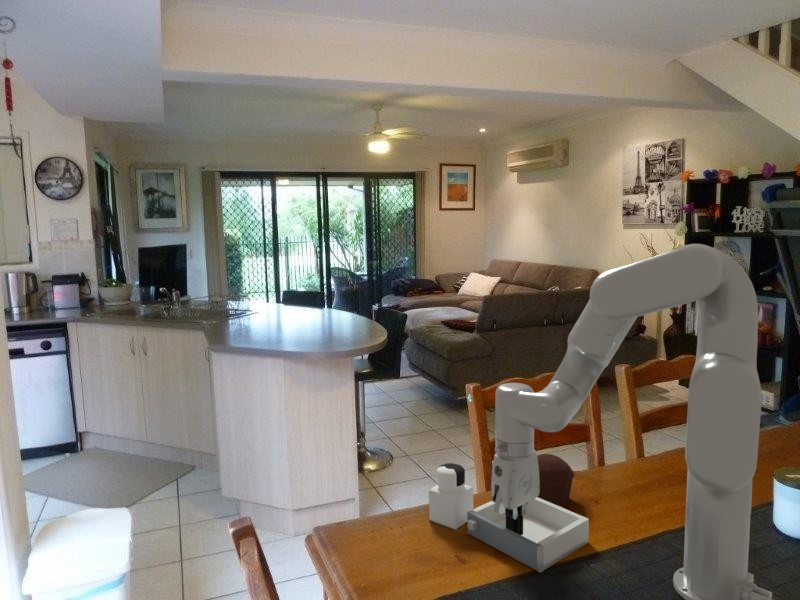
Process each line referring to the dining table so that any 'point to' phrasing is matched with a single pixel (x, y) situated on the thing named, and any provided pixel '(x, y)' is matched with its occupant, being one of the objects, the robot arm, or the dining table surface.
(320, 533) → the dining table surface
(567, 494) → the muffin
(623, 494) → the dining table surface
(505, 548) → the side door
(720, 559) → the robot arm
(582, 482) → the dining table surface
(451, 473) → the medicine bottle
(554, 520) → the case
